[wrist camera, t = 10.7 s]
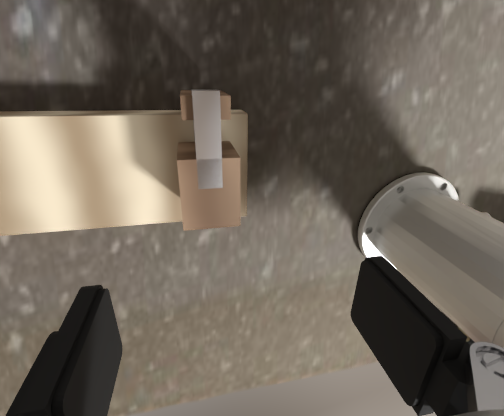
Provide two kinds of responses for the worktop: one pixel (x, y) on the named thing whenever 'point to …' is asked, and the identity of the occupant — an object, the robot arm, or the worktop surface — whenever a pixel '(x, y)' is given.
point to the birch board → (98, 168)
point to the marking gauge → (208, 164)
